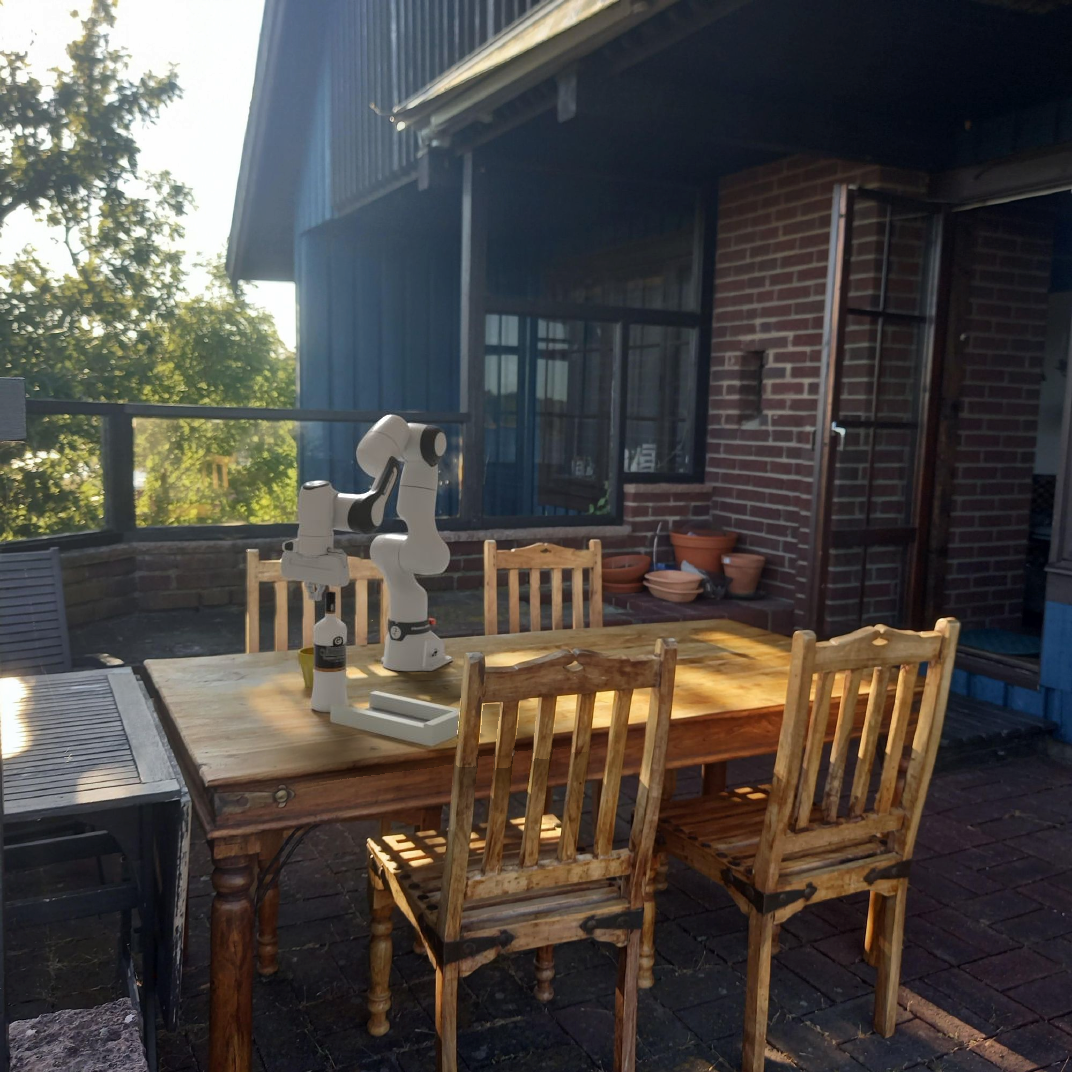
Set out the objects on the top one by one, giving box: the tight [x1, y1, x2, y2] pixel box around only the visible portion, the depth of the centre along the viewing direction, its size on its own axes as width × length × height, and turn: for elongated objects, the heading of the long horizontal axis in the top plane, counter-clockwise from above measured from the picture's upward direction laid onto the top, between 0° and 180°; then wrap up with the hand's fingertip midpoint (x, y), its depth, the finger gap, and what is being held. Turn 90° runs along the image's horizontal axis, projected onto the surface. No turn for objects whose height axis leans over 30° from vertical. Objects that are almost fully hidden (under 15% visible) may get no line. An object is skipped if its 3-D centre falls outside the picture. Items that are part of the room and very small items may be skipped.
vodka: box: [310, 590, 349, 714], centre depth 262 cm, size 9×9×30 cm
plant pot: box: [297, 646, 314, 689], centre depth 284 cm, size 10×10×10 cm
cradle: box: [329, 690, 461, 747], centre depth 251 cm, size 17×30×5 cm, turn 59°
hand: (314, 600), depth 263 cm, fingers closed
